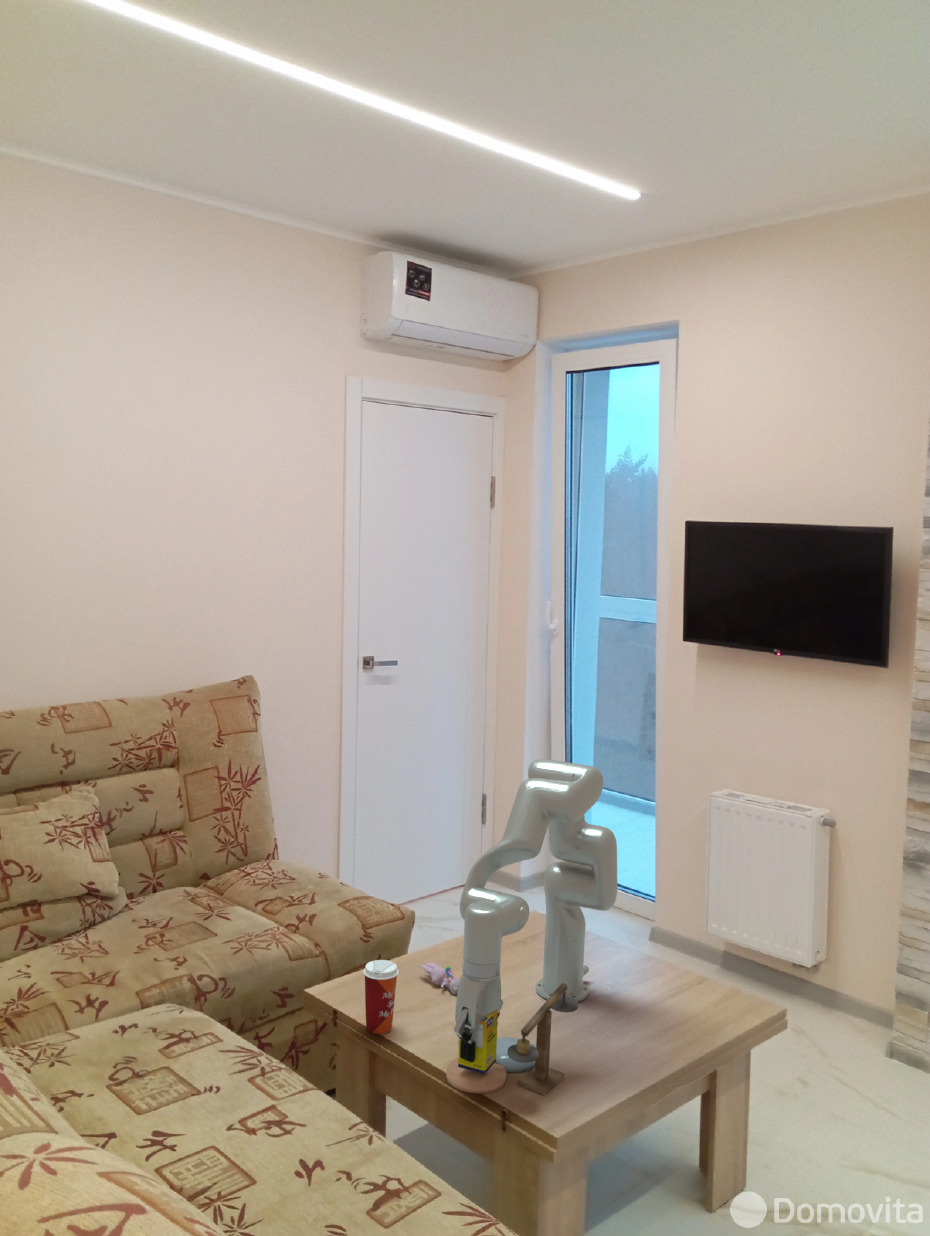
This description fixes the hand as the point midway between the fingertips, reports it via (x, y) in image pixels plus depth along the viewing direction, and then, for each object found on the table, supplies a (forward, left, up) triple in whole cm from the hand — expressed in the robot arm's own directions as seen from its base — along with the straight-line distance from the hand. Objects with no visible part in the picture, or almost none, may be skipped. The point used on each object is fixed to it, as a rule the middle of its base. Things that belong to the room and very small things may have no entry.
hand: (477, 1051), depth 201 cm
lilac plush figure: (-29, -30, -5) cm, 42 cm away
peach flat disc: (0, 0, -5) cm, 5 cm away
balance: (-7, +11, -5) cm, 14 cm away
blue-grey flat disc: (-11, +1, -5) cm, 12 cm away
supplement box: (0, 0, -3) cm, 3 cm away
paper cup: (-3, -28, -5) cm, 29 cm away
